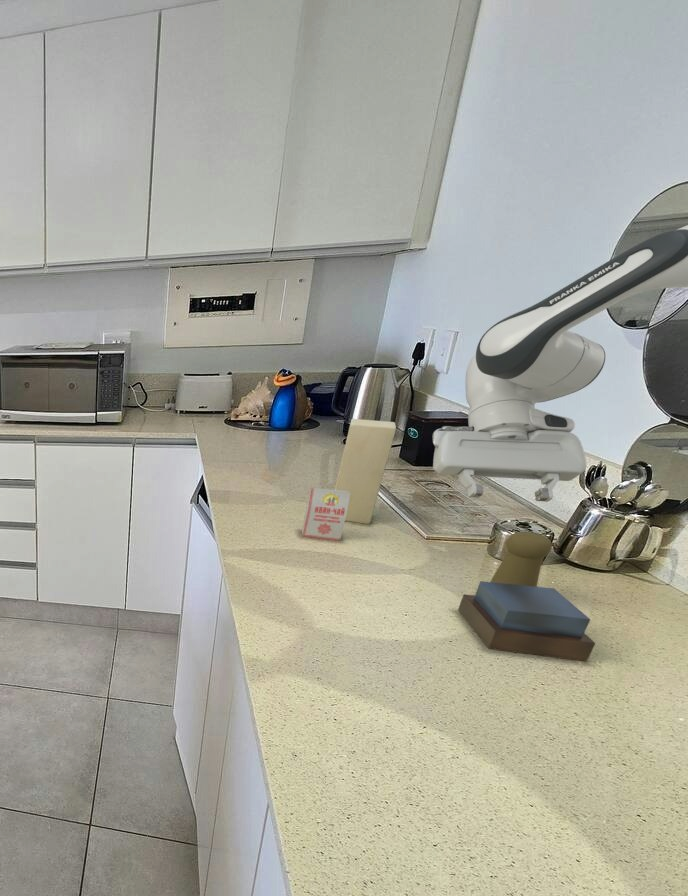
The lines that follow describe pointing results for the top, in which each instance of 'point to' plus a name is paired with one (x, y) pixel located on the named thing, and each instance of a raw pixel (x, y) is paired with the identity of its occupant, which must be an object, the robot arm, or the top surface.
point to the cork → (523, 559)
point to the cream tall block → (364, 466)
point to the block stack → (527, 620)
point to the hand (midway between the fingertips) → (509, 498)
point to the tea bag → (325, 514)
